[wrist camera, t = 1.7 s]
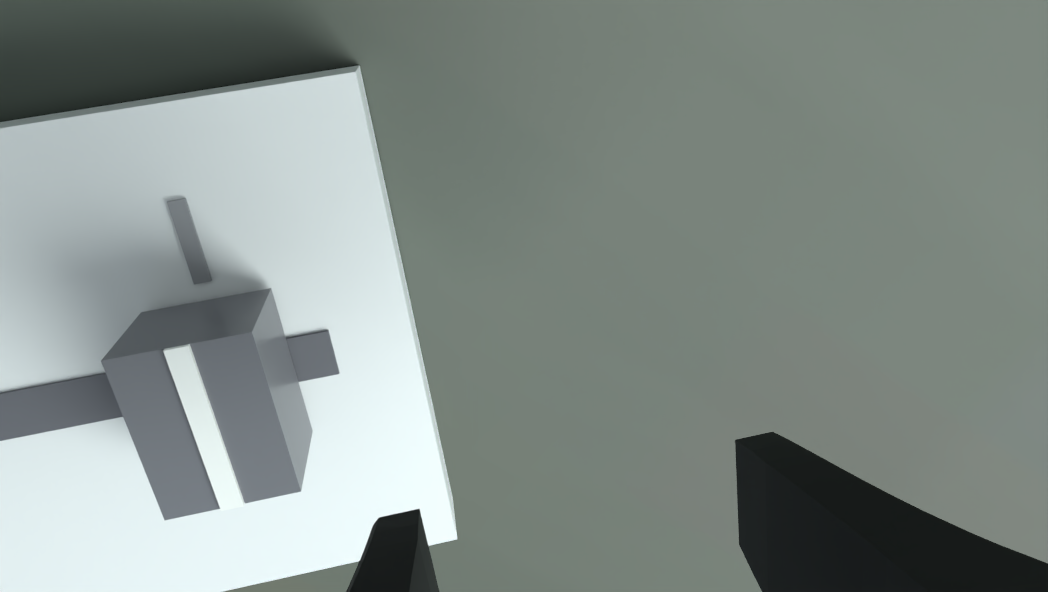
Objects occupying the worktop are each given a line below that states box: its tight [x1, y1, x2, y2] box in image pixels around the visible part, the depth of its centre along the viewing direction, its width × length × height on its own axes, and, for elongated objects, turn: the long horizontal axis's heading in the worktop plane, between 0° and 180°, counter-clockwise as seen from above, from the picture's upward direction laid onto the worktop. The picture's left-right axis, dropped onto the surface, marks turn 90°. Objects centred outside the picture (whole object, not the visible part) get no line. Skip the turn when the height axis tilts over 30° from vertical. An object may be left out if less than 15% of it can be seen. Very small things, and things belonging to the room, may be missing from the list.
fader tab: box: [101, 288, 313, 520], centre depth 17 cm, size 4×3×3 cm
